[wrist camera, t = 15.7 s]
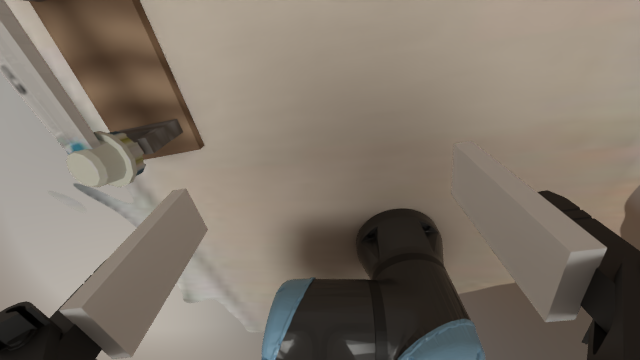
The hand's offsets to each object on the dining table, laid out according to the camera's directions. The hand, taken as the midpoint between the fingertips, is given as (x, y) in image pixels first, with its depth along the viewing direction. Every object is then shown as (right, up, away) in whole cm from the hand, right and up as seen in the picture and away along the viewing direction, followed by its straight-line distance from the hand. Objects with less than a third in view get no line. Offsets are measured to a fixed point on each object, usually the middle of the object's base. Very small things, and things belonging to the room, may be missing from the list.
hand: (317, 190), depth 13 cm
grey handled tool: (-27, +12, +15) cm, 33 cm away
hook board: (-26, +16, +22) cm, 38 cm away
